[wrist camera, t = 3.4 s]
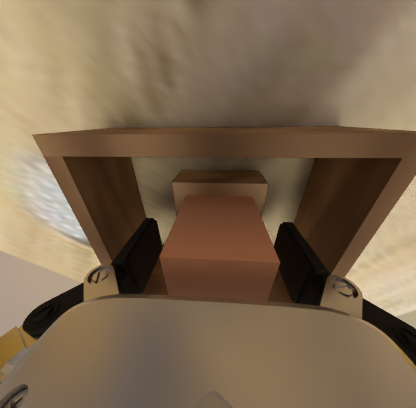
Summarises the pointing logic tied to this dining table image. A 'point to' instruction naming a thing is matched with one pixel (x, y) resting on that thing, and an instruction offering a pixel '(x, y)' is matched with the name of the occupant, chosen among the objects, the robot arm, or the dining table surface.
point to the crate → (237, 182)
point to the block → (219, 250)
